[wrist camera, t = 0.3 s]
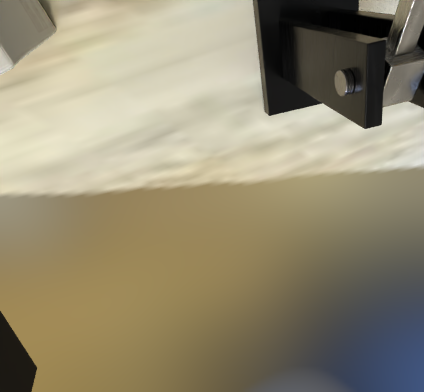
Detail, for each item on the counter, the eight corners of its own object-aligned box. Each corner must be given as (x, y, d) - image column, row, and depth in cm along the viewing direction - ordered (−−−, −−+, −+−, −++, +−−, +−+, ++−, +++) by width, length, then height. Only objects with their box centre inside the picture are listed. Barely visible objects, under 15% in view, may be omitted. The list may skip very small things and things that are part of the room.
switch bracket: (251, -16, 29) (337, -16, 17) (351, -37, 29) (503, -52, 17) (264, 112, 34) (338, 181, 22) (350, 91, 34) (467, 148, 22)
